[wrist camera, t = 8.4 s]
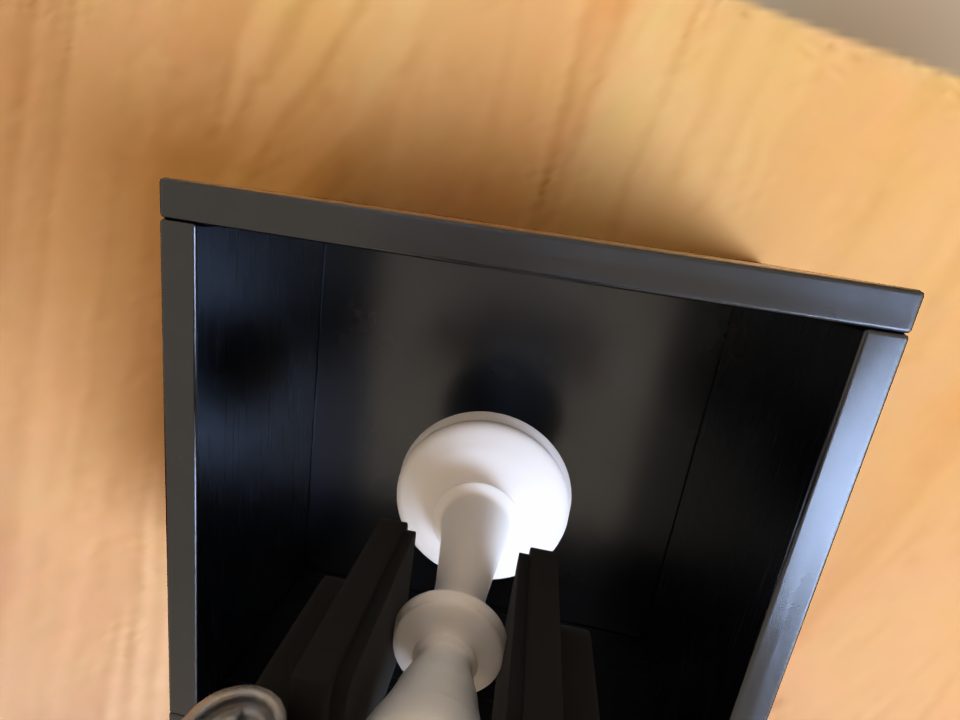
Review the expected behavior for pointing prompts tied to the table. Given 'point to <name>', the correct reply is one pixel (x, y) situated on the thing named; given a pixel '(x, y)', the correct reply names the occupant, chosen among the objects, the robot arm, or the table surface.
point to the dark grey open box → (520, 394)
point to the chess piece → (468, 553)
